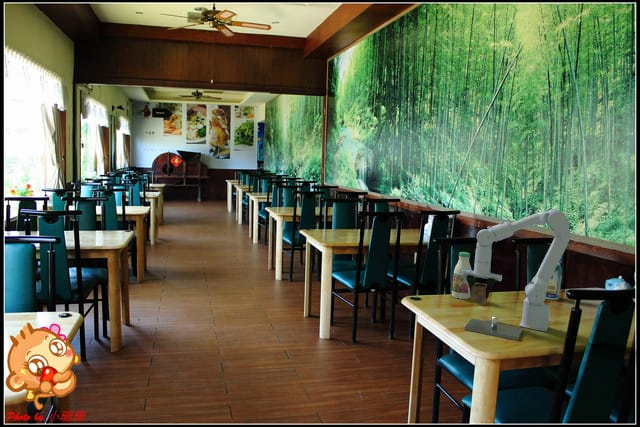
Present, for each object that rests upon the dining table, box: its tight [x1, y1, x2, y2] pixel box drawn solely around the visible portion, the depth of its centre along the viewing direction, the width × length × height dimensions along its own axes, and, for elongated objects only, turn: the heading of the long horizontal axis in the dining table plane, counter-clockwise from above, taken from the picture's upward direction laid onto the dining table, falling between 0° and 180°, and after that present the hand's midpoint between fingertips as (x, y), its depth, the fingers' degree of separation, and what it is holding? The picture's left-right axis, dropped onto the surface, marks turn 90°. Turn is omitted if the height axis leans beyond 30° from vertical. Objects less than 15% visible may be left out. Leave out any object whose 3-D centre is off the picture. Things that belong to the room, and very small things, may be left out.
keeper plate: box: [464, 315, 524, 342], centre depth 188 cm, size 18×12×5 cm, turn 62°
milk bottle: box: [451, 251, 472, 300], centre depth 232 cm, size 8×8×20 cm
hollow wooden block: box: [470, 282, 489, 305], centre depth 200 cm, size 5×7×6 cm
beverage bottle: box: [545, 256, 563, 301], centre depth 242 cm, size 8×8×20 cm
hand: (479, 296), depth 200 cm, fingers closed on hollow wooden block, 5 cm apart
